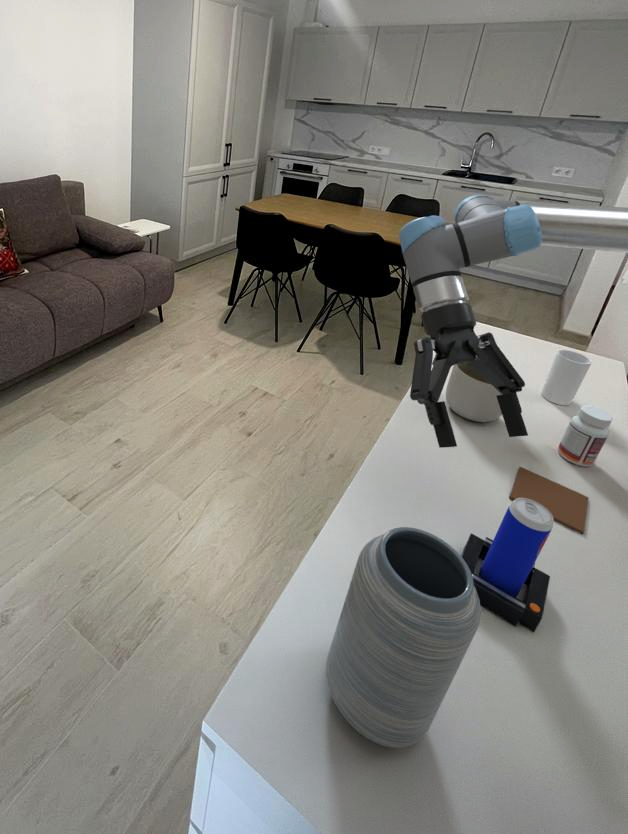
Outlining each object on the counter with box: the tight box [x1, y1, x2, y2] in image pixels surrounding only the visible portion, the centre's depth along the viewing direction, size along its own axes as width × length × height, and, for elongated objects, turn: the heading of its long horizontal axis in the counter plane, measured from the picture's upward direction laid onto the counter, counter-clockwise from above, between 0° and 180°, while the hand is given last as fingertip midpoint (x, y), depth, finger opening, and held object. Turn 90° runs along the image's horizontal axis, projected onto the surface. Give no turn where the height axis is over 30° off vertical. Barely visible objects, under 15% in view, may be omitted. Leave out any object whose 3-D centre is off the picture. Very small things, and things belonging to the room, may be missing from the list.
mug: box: [540, 349, 593, 406], centre depth 122 cm, size 10×7×12 cm, turn 148°
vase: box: [325, 526, 482, 749], centre depth 54 cm, size 12×12×23 cm
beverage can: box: [478, 498, 554, 598], centre depth 71 cm, size 5×5×15 cm
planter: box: [445, 364, 514, 423], centre depth 113 cm, size 12×12×11 cm
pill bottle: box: [557, 404, 614, 468], centre depth 100 cm, size 6×6×11 cm
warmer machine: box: [460, 532, 551, 633], centre depth 73 cm, size 11×11×3 cm
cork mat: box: [508, 466, 590, 535], centre depth 91 cm, size 11×11×1 cm
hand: (484, 441), depth 75 cm, fingers open, 13 cm apart
